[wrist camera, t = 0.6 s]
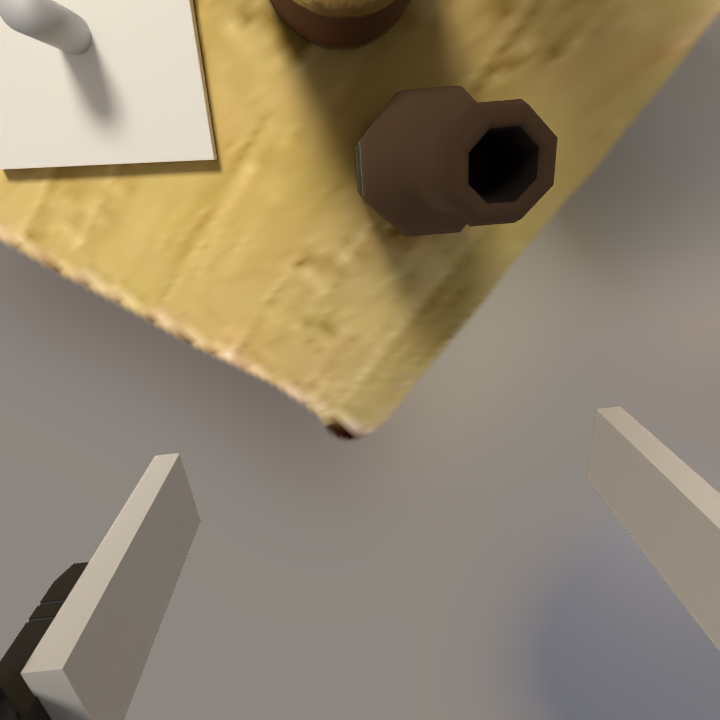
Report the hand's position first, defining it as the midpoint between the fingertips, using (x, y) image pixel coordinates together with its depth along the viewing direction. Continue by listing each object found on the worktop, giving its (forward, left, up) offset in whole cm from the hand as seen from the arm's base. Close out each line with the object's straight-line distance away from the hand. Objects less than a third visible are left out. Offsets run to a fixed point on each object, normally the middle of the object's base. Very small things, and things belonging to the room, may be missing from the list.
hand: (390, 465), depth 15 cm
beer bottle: (-9, +4, -26) cm, 28 cm away
